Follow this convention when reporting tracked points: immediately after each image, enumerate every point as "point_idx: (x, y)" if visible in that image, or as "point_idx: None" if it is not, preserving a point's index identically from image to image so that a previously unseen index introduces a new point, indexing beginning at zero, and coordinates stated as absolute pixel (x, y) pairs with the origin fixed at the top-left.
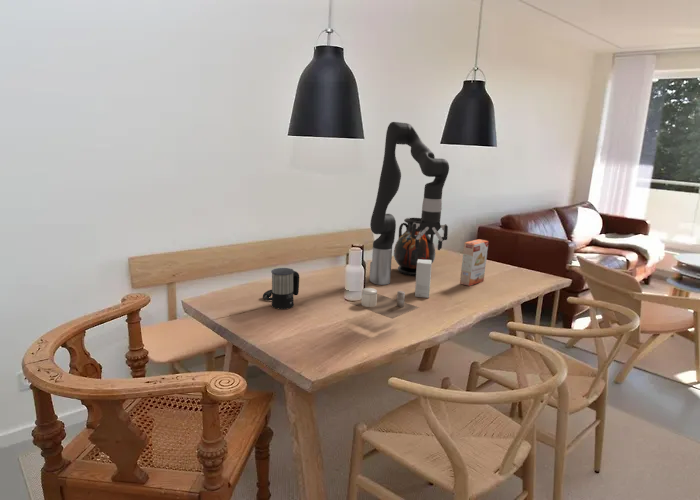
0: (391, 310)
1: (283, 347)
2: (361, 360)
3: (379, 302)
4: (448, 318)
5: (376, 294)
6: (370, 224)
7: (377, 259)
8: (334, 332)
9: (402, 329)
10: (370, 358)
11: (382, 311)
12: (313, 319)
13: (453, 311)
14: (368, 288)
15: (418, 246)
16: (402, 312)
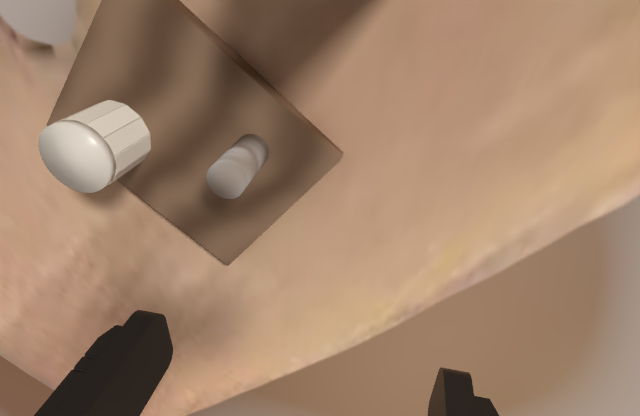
0: (219, 198)
1: (34, 356)
2: (188, 411)
3: (157, 106)
4: (456, 231)
5: (118, 167)
6: None
7: None
8: (95, 308)
9: (267, 304)
10: (203, 408)
11: (187, 208)
12: (8, 232)
13: (519, 153)
14: (59, 131)
15: (151, 389)
16: (262, 217)
